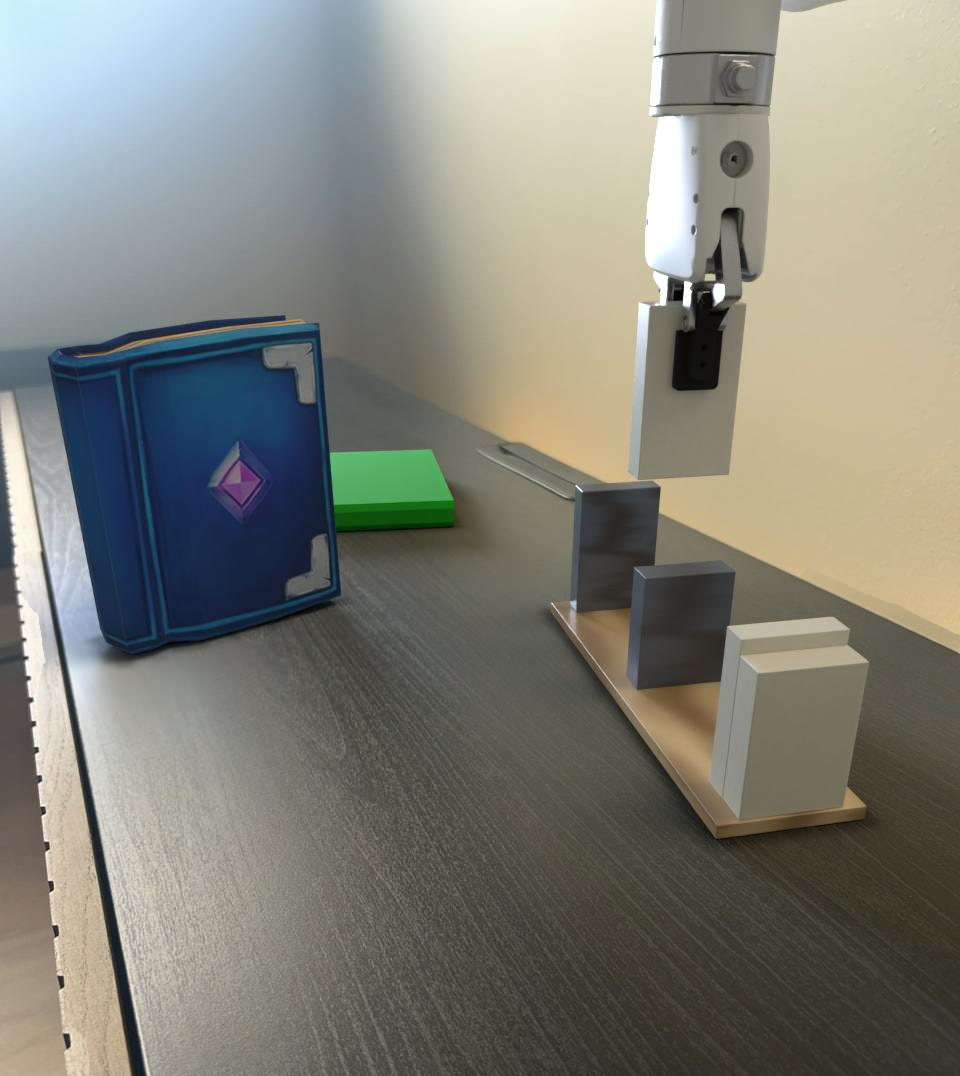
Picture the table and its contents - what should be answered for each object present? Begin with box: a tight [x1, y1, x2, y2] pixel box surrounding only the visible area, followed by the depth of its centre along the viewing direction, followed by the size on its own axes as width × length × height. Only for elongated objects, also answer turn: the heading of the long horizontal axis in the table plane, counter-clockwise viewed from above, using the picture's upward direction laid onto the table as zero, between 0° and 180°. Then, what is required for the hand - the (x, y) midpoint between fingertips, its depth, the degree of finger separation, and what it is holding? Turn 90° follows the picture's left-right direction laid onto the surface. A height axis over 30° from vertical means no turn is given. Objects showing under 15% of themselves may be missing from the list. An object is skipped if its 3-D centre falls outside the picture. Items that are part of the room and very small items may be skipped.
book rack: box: [550, 480, 867, 840], centre depth 78 cm, size 10×36×12 cm, turn 13°
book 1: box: [47, 314, 342, 655], centre depth 88 cm, size 22×7×25 cm, turn 129°
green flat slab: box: [330, 448, 456, 532], centre depth 124 cm, size 22×28×3 cm
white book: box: [628, 300, 748, 481], centre depth 75 cm, size 7×2×12 cm, turn 102°
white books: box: [709, 616, 870, 820], centre depth 64 cm, size 7×4×11 cm, turn 103°
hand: (686, 382), depth 75 cm, fingers closed on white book, 2 cm apart
